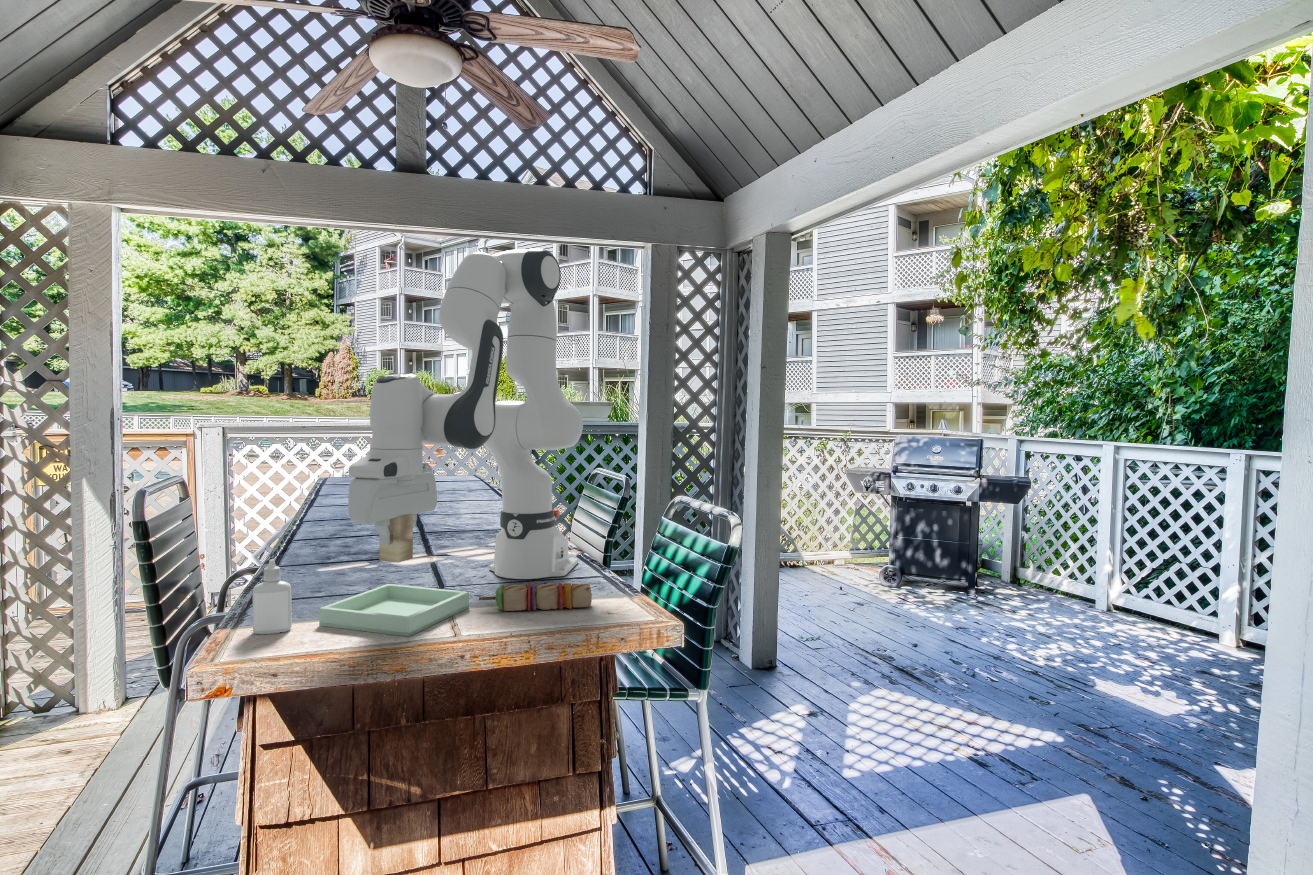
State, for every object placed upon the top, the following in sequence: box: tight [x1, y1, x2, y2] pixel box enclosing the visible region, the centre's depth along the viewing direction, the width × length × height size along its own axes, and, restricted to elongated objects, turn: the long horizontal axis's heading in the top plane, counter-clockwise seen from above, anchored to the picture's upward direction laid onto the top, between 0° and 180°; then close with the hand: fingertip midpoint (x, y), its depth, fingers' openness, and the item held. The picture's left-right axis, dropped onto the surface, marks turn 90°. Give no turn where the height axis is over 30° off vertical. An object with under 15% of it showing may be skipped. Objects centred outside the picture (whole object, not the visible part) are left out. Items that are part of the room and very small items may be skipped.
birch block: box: [378, 514, 414, 563], centre depth 129 cm, size 4×4×8 cm
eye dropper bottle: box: [252, 559, 293, 635], centre depth 120 cm, size 4×6×12 cm
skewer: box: [478, 581, 593, 612], centre depth 136 cm, size 21×6×5 cm, turn 99°
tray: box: [318, 583, 470, 638], centre depth 129 cm, size 18×18×3 cm
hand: (396, 542), depth 129 cm, fingers closed on birch block, 4 cm apart
